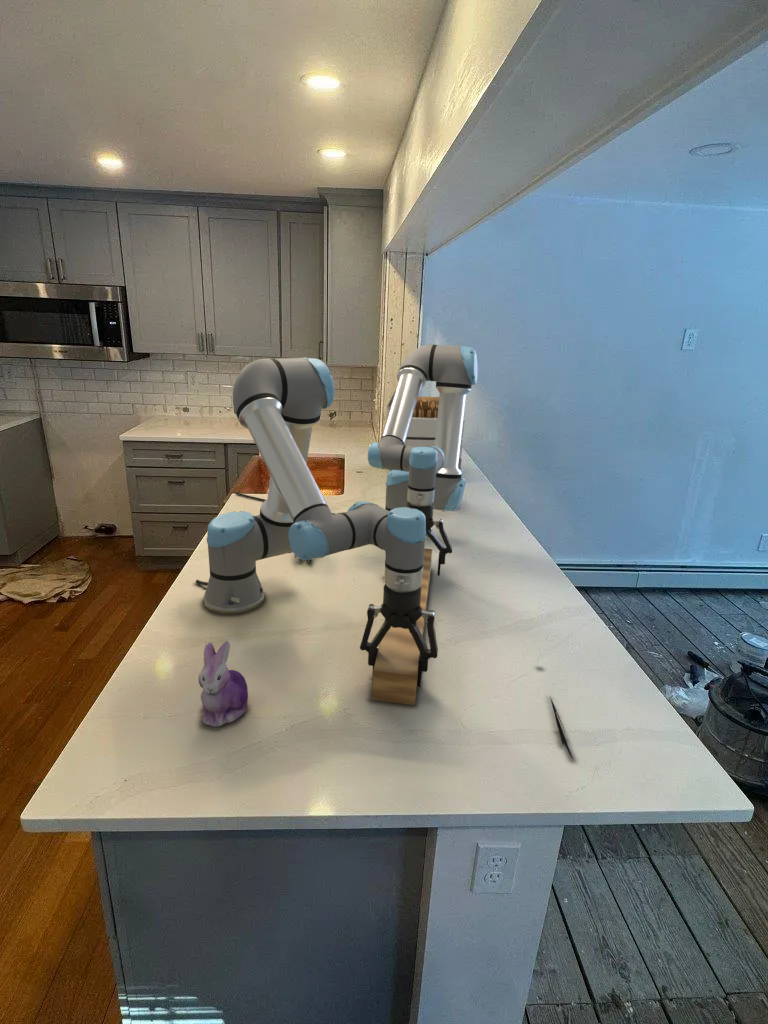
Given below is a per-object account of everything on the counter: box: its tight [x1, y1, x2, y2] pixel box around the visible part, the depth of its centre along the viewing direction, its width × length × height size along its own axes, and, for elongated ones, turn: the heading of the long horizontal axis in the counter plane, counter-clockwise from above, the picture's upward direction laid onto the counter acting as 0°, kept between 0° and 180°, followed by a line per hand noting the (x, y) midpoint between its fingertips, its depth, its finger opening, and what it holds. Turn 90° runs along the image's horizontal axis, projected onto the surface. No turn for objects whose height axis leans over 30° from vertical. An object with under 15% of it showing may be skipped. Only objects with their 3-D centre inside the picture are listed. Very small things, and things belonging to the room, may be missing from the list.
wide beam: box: [371, 547, 433, 706], centre depth 143 cm, size 64×9×7 cm, turn 173°
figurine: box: [198, 640, 249, 728], centre depth 107 cm, size 9×10×15 cm
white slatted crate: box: [385, 389, 465, 472], centre depth 268 cm, size 34×33×41 cm
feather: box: [539, 666, 573, 758], centre depth 114 cm, size 2×28×2 cm
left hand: (396, 680), depth 120 cm, fingers closed on wide beam, 9 cm apart
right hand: (415, 571), depth 166 cm, fingers open, 13 cm apart
